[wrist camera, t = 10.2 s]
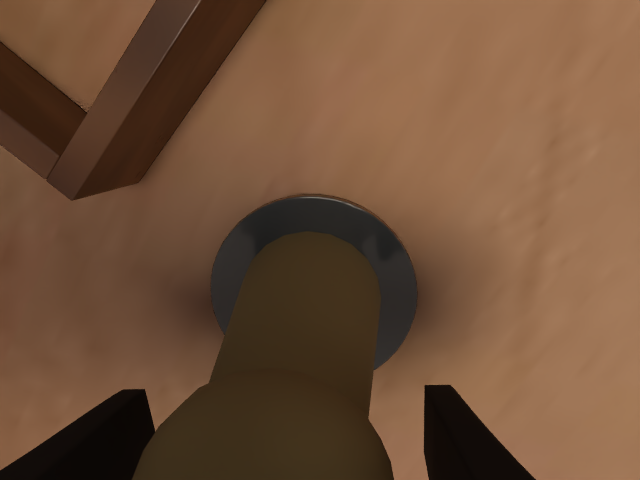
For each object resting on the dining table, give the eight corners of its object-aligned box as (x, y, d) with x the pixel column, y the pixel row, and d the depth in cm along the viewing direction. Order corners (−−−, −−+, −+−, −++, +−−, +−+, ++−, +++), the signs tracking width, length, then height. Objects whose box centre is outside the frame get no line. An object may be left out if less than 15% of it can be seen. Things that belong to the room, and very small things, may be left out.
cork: (288, 202, 15) (152, 379, 5) (410, 282, 16) (534, 600, 5) (217, 312, 17) (-1, 624, 6) (329, 381, 17) (301, 769, 7)
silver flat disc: (229, 380, 18) (225, 387, 18) (198, 199, 16) (194, 202, 15) (415, 378, 18) (417, 385, 17) (416, 187, 15) (418, 189, 15)
